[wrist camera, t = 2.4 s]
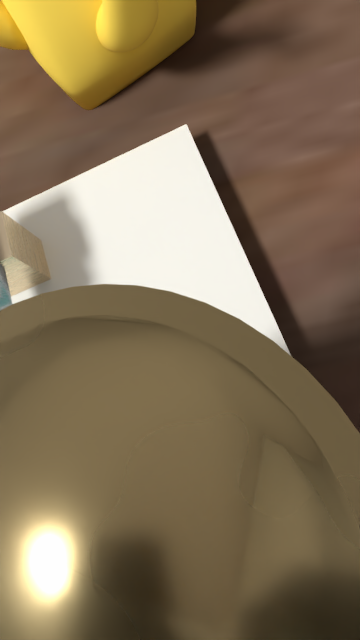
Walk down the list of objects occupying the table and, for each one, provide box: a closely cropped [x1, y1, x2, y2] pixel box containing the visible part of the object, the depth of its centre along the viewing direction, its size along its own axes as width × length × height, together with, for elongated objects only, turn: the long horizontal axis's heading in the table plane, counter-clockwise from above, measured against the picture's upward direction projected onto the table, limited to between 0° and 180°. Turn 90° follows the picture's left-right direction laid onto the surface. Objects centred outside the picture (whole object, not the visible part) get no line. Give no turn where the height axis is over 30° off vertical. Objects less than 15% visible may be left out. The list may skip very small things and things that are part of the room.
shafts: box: [0, 211, 51, 310], centre depth 13 cm, size 24×6×4 cm, turn 20°
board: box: [3, 125, 291, 356], centre depth 16 cm, size 26×16×1 cm, turn 20°
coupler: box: [0, 284, 360, 640], centre depth 8 cm, size 5×5×12 cm
